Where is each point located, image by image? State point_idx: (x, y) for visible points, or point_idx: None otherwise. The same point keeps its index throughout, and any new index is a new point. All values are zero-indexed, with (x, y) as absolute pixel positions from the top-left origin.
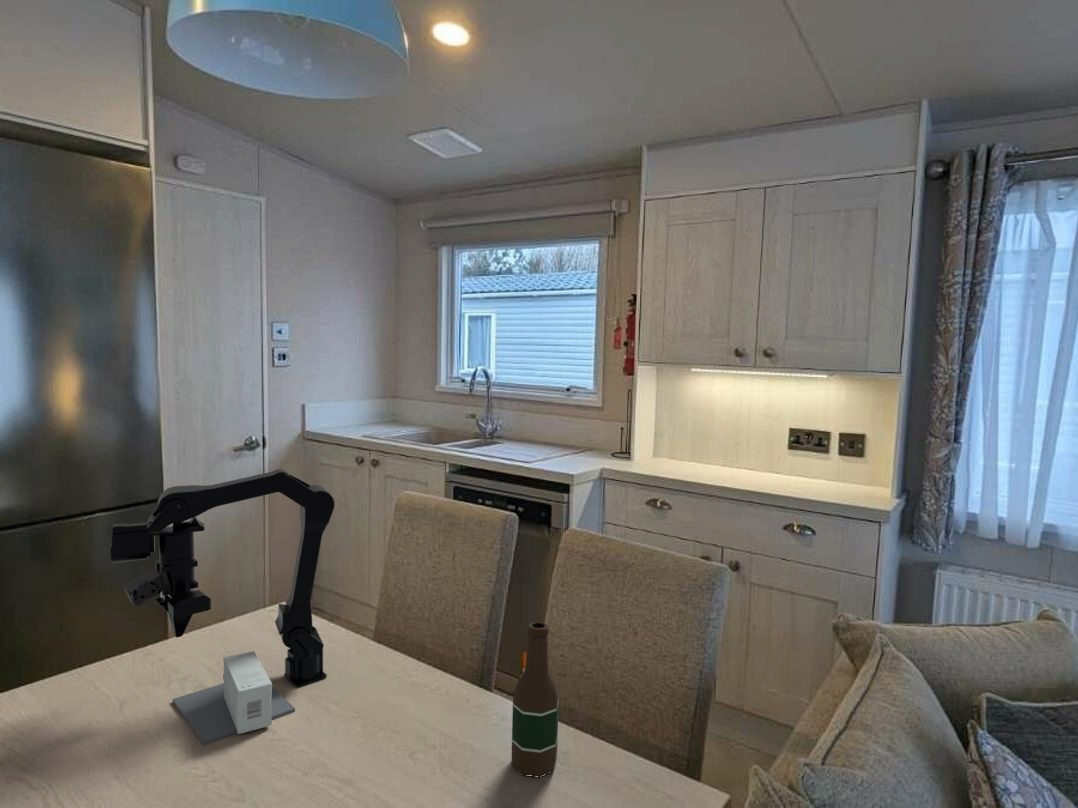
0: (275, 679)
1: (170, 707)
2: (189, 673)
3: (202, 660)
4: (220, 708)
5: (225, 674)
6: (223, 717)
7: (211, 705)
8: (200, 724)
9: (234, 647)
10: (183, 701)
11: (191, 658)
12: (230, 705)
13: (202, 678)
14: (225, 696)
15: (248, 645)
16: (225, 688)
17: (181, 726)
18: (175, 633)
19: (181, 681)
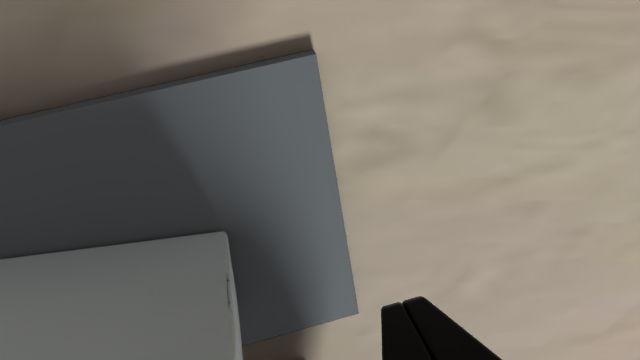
0: (299, 343)
1: (268, 38)
2: (521, 117)
3: (586, 161)
4: (140, 218)
5: (160, 333)
6: (54, 228)
7: (180, 191)
8: (19, 152)
9: (595, 248)
10: (268, 95)
11: (632, 127)
12: (7, 292)
13: (448, 158)
14: (163, 256)
15: (574, 281)
16: (156, 283)
17: (62, 75)
18: (386, 342)
19: (476, 88)
